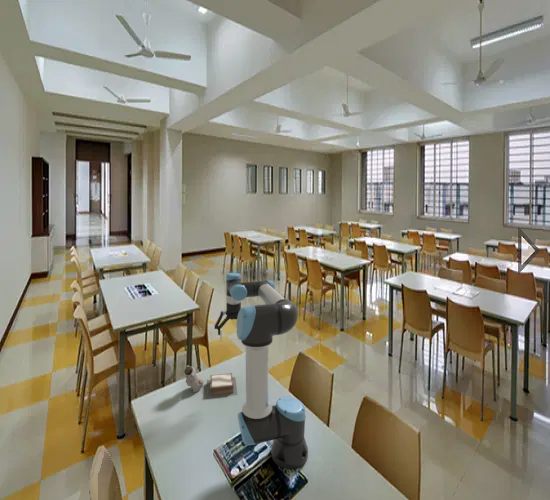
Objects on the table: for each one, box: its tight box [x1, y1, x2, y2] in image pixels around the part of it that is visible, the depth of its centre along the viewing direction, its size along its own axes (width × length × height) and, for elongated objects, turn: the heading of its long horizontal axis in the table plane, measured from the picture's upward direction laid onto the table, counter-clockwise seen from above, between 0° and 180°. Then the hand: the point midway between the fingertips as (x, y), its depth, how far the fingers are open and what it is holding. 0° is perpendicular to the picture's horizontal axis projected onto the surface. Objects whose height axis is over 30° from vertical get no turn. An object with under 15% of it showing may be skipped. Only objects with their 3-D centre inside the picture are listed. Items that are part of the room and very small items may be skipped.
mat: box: [206, 376, 238, 399], centre depth 170 cm, size 16×16×1 cm
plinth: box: [209, 373, 234, 395], centre depth 169 cm, size 12×12×4 cm
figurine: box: [183, 365, 204, 393], centre depth 166 cm, size 9×10×15 cm
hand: (233, 339), depth 167 cm, fingers open, 13 cm apart
